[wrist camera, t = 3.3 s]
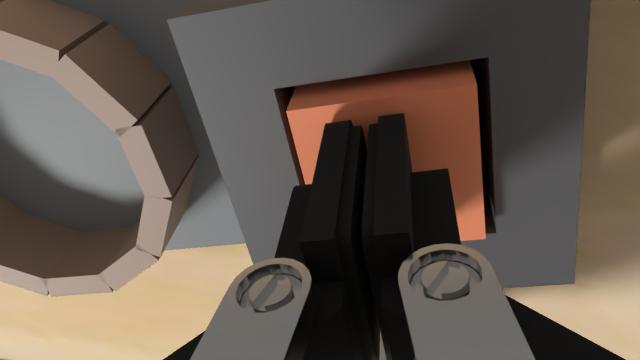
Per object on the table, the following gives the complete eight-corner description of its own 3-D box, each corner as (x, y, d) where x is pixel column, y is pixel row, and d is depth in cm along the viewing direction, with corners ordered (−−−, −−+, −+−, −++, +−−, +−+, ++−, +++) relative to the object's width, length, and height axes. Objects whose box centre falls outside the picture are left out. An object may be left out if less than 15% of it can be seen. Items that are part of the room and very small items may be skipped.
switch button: (458, 21, 14) (477, 84, 10) (467, 150, 16) (485, 239, 12) (311, 45, 14) (286, 111, 11) (338, 165, 16) (322, 251, 13)
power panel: (578, -152, 13) (666, -140, 8) (564, 196, 18) (615, 310, 14) (-135, 4, 17) (-306, 62, 13) (20, 247, 22) (-67, 344, 18)
